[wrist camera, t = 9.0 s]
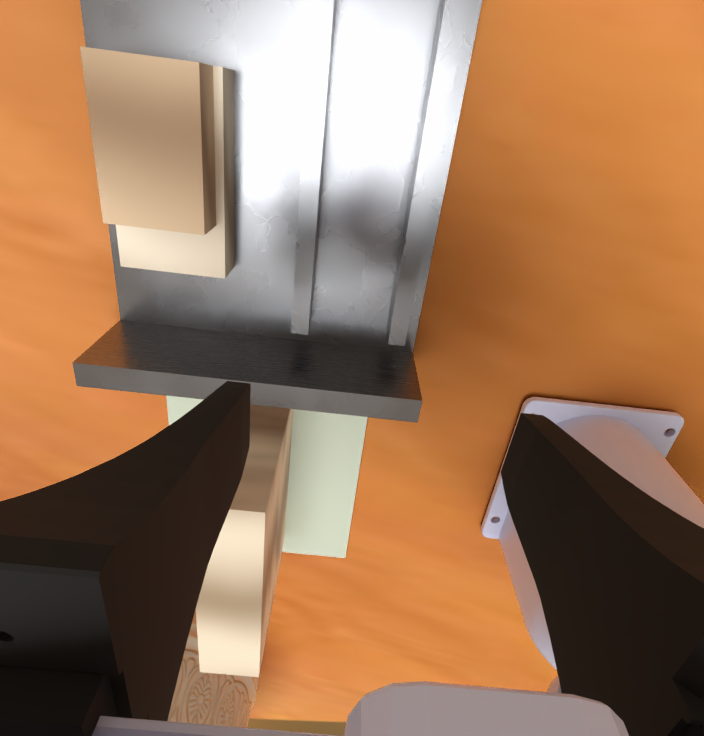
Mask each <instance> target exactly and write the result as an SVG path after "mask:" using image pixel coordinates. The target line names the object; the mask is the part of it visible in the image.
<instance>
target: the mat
mask: <svg viewBox="0 0 704 736" xmlns="http://www.w3.org/2000/svg"><path fill="white" fill-rule="evenodd" d="M203 400H204V399H194V398H185V397H176V396H167V408H168V420H169V425H171V424H172V423H174V422H175V421H177V420H178V419H179V418H181V417H182V416H183V415H185V414H186V413H187V412H189V411H190V410H191V409H193V408H194V407H195V406H196V405H198V404H199V403H200V402H201V401H203ZM367 418H368V417H362V416H353V415H343V414H334V413H325V412H315V411H306V410H297V409H293V422H292V437H291V452H290V466H289V481H288V496H287V511H286V526H285V537H284V543H283V548H282V552H288V553H299V554H309V555H319V556H330V557H340V558H345V557H346V551H347V544H348V538H349V532H350V525H351V519H352V513H353V506H354V500H355V494H356V487H357V481H358V475H359V468H360V462H361V456H362V449H363V443H364V437H365V430H366V424H367Z"/></svg>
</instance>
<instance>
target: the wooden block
mask: <svg viewBox="0 0 704 736" xmlns="http://www.w3.org/2000/svg"><path fill="white" fill-rule="evenodd" d="M292 422H293V409H287V408H278V407H269V406H259V405H250V446H249V450H248V455H247V459H246V463H245V467H244V471H243V474H242V478H241V481H240V484H239V486H238V489H237V491H236V494H235V496H234V499H233V502H232V504H231V507H230V509H229V512H228V514H227V517H226V519H225V522H224V524H223V527H222V529H221V532H220V534H219V537H218V539H217V542H216V544H215V547H214V549H213V552H212V555H211V558H210V561H209V564H208V567H207V570H206V574H205V577H204V581H203V584H202V588H201V591H200V595H199V599H198V602H197V606H196V621H197V636H198V651H199V667H200V672H204V673H215V674H227V675H238V676H250V677H259V675H260V669H261V664H262V658H263V653H264V647H265V642H266V636H267V631H268V625H269V620H270V614H271V609H272V603H273V598H274V592H275V587H276V581H277V576H278V570H279V565H280V559H281V554H282V548H283V543H284V537H285V526H286V511H287V496H288V481H289V466H290V452H291V437H292Z"/></svg>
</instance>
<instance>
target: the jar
mask: <svg viewBox="0 0 704 736" xmlns="http://www.w3.org/2000/svg"><path fill="white" fill-rule="evenodd" d="M257 687H258V677H250V676H238V675H227V674H215V673H204V672H200V667H199V651H198V636H197V621H196V610H195V613H194V617H193V621H192V625H191V628H190V632H189V636H188V639H187V643H186V647H185V651H184V655H183V659H182V663H181V667H180V671H179V675H178V679H177V683H176V687H175V691H174V695H173V699H172V703H171V708H170V712H169V716H168V720H167V721H169V722H182V723H194V724H206V725H218V726H230V727H242V728H247V727H248V722H249V717H250V712H251V710H252V708H253V706H254V703H255V699H256V691H257Z"/></svg>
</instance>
